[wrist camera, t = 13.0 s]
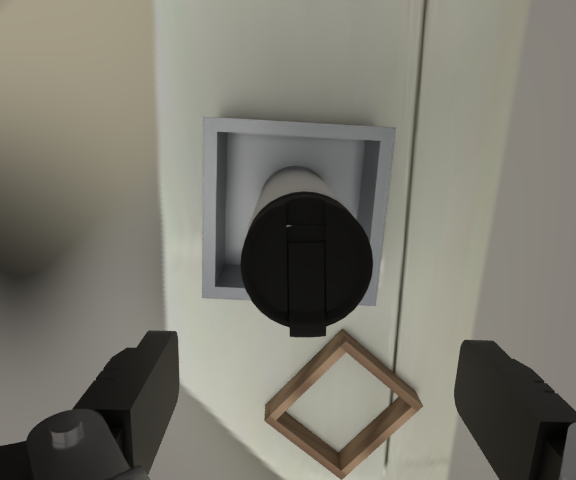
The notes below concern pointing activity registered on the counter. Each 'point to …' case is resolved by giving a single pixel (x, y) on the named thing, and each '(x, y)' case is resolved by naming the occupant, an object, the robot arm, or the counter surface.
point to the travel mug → (304, 254)
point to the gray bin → (272, 157)
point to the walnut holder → (369, 436)
